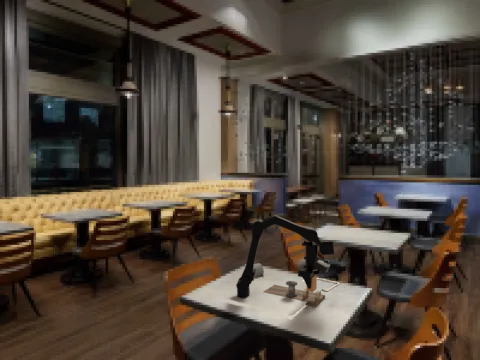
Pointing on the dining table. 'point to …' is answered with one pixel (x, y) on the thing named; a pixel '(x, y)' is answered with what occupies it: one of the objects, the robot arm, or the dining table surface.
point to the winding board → (297, 293)
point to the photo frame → (328, 281)
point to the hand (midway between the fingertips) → (311, 286)
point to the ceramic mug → (258, 270)
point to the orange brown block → (313, 284)
